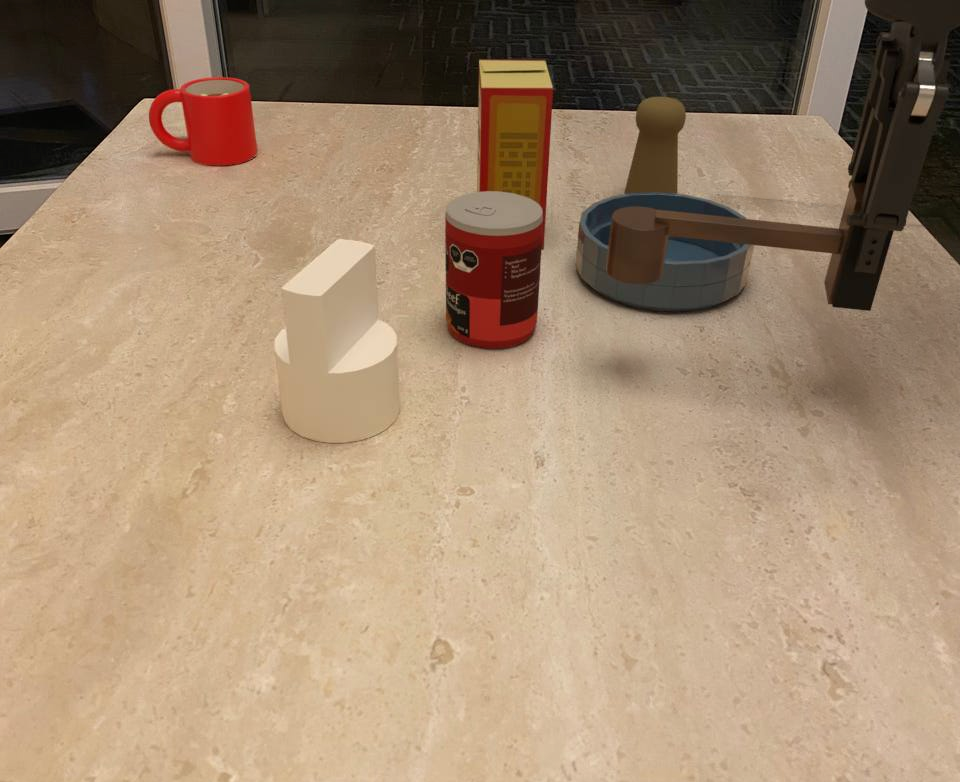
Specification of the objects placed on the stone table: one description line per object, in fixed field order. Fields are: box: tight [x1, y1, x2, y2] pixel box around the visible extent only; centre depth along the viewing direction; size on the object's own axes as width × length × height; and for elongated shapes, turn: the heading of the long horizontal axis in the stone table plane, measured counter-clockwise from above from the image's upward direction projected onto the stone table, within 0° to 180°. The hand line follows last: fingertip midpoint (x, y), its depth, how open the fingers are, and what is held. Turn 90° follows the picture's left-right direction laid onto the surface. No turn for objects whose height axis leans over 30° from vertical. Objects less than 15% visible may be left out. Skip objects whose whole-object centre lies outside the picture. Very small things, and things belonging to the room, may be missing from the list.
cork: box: [623, 96, 687, 194], centre depth 107 cm, size 6×6×11 cm
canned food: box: [444, 191, 543, 349], centre depth 84 cm, size 8×8×11 cm
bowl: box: [575, 192, 755, 312], centre depth 95 cm, size 16×16×5 cm
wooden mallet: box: [606, 182, 866, 305], centre depth 74 cm, size 20×4×8 cm, turn 79°
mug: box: [148, 76, 258, 166], centre depth 117 cm, size 8×12×8 cm, turn 98°
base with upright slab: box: [273, 238, 401, 444], centre depth 74 cm, size 9×9×12 cm
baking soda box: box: [476, 58, 554, 250], centre depth 99 cm, size 10×6×16 cm
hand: (848, 292), depth 75 cm, fingers closed on wooden mallet, 4 cm apart
